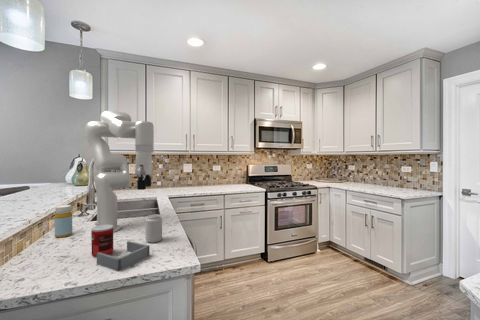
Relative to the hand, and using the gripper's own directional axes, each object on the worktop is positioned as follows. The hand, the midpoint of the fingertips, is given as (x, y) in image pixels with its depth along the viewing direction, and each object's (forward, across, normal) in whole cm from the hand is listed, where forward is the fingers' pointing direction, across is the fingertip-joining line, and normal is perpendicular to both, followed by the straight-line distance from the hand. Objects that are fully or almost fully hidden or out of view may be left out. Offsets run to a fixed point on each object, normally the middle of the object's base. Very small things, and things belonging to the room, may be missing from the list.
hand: (144, 187), depth 103 cm
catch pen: (+26, +13, -4) cm, 30 cm away
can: (+26, -6, +3) cm, 27 cm away
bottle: (+27, -19, -44) cm, 55 cm away
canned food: (+27, +6, -15) cm, 31 cm away
